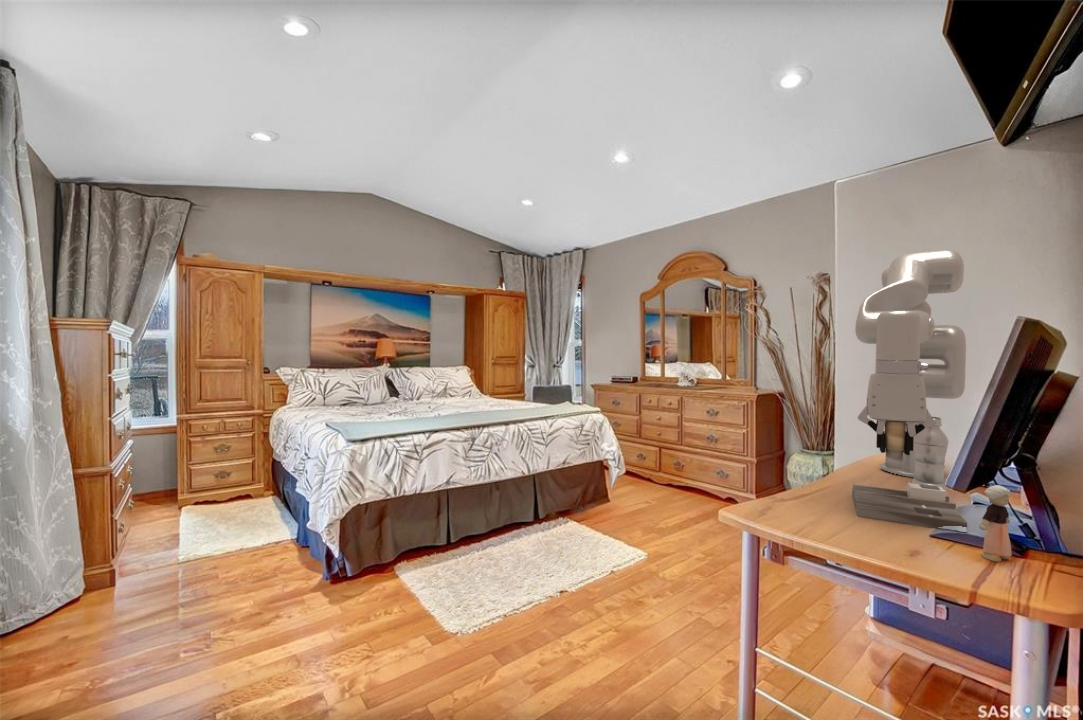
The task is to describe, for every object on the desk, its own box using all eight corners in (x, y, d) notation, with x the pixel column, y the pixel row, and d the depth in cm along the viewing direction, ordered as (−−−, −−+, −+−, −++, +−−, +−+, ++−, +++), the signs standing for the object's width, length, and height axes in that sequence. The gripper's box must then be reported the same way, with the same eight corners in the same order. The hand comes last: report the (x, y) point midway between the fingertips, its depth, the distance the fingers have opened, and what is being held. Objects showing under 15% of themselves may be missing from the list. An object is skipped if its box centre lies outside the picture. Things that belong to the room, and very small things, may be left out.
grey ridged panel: (851, 495, 116) (852, 482, 116) (946, 508, 107) (946, 494, 107) (857, 516, 102) (858, 501, 102) (966, 532, 94) (967, 517, 93)
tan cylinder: (882, 463, 105) (883, 419, 105) (902, 465, 103) (904, 420, 103) (884, 467, 102) (886, 421, 101) (905, 469, 100) (907, 423, 100)
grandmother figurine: (1004, 566, 79) (1007, 492, 79) (974, 557, 83) (977, 486, 82) (1017, 555, 84) (1020, 484, 83) (988, 547, 87) (991, 479, 86)
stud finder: (907, 495, 109) (907, 482, 109) (940, 499, 106) (941, 486, 106) (910, 500, 105) (910, 486, 105) (945, 505, 102) (945, 490, 102)
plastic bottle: (932, 496, 116) (935, 415, 115) (953, 506, 109) (956, 420, 108) (904, 495, 116) (906, 414, 115) (923, 505, 110) (926, 419, 109)
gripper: (942, 368, 101) (939, 453, 102) (849, 366, 109) (847, 445, 110) (951, 370, 94) (948, 461, 95) (852, 368, 102) (850, 452, 103)
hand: (894, 451), depth 103 cm, fingers closed on tan cylinder, 3 cm apart
